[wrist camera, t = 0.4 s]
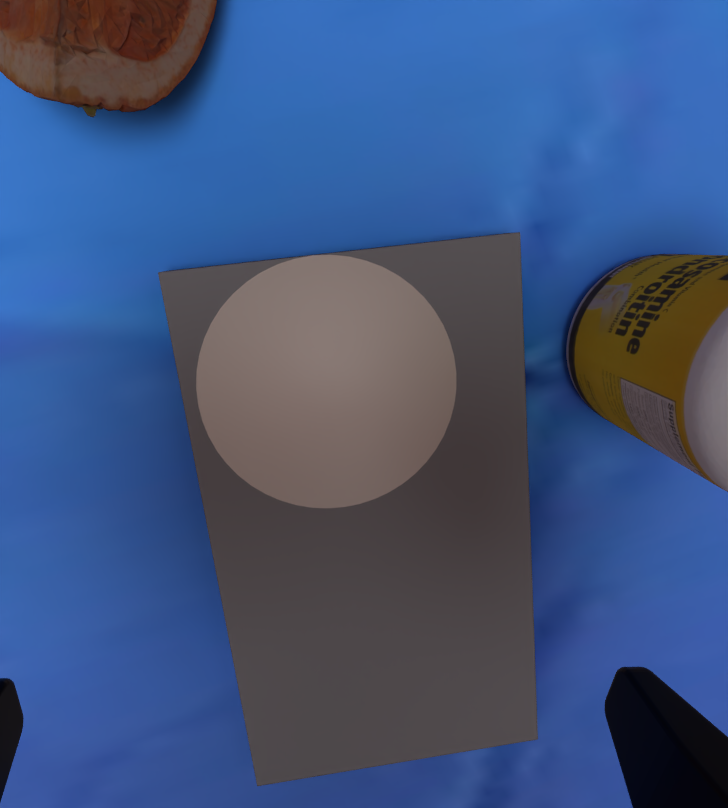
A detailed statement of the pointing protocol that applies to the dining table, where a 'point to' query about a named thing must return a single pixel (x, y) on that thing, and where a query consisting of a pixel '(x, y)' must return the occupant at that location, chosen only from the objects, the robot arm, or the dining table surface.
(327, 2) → the dining table surface
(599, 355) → the pill bottle
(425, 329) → the panel board
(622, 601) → the dining table surface
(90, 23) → the fruit slice
